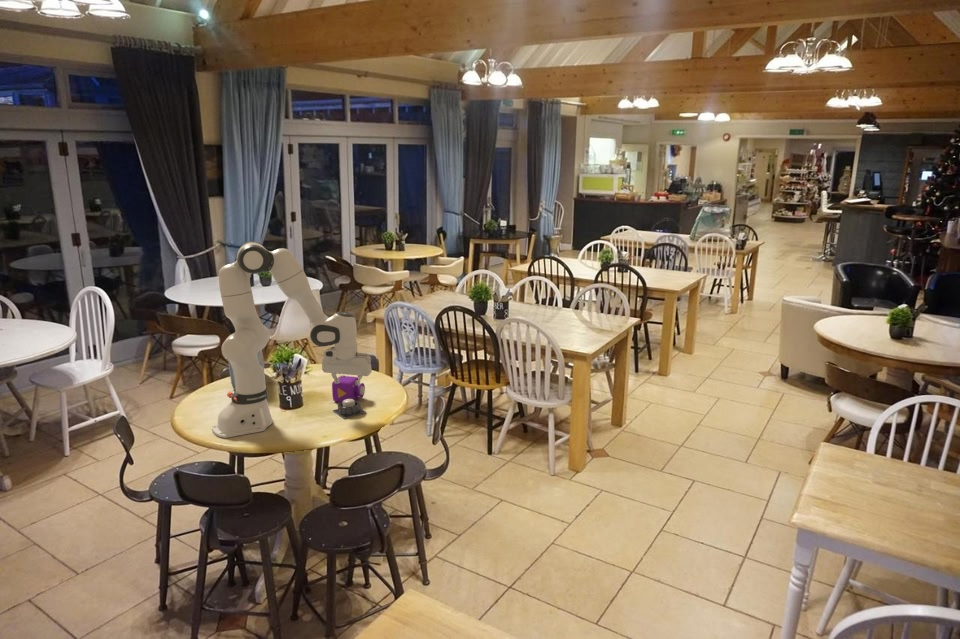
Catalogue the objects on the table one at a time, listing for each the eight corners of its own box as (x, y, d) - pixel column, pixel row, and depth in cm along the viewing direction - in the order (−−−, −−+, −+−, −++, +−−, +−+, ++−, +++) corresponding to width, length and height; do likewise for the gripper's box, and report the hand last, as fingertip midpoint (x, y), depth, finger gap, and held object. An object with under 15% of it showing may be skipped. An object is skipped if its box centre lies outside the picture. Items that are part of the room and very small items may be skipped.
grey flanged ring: (344, 419, 263) (343, 410, 262) (332, 411, 271) (332, 403, 270) (366, 413, 269) (365, 404, 268) (354, 405, 277) (354, 397, 276)
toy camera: (363, 404, 279) (362, 382, 276) (331, 404, 279) (330, 382, 276) (368, 395, 289) (367, 373, 287) (337, 395, 289) (336, 373, 287)
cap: (346, 414, 266) (346, 404, 265) (340, 410, 270) (340, 400, 269) (357, 411, 269) (357, 401, 268) (351, 407, 273) (351, 397, 272)
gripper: (373, 351, 264) (374, 383, 268) (326, 347, 268) (327, 379, 272) (367, 355, 258) (368, 388, 262) (319, 352, 262) (321, 384, 266)
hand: (347, 384), depth 267 cm, fingers open, 8 cm apart
